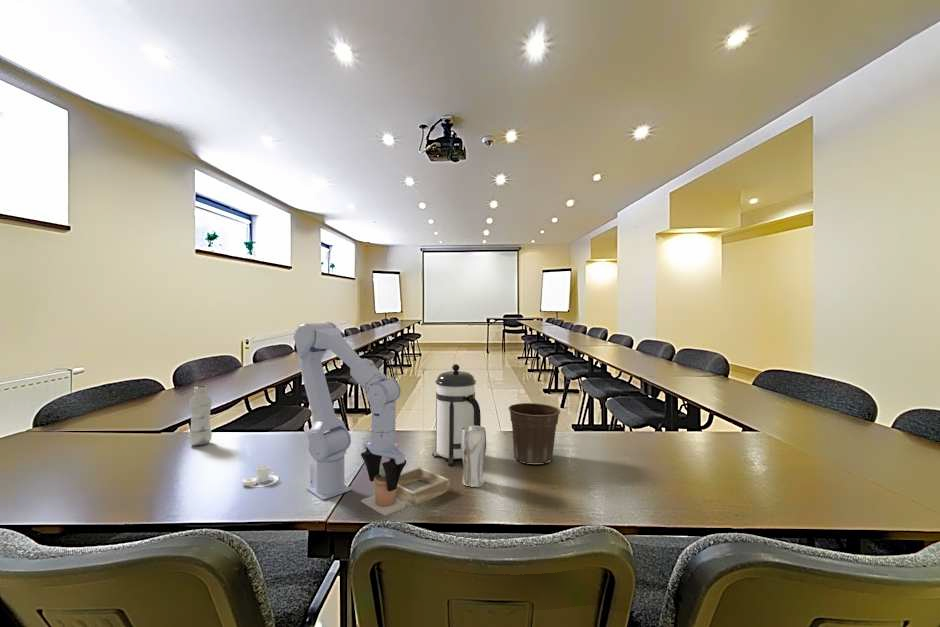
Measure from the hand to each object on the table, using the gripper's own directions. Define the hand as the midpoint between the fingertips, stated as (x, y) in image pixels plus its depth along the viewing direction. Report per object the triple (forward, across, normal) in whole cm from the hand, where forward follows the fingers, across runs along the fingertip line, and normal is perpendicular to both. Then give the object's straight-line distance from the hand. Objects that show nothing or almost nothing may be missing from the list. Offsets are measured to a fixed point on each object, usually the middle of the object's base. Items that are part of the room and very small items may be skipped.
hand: (382, 485), depth 102 cm
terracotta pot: (+4, 0, -1) cm, 4 cm away
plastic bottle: (+6, +81, +20) cm, 83 cm away
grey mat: (+5, 0, 0) cm, 5 cm away
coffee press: (+5, +9, -34) cm, 36 cm away
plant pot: (+5, -8, -52) cm, 52 cm away
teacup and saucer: (+6, +37, +17) cm, 41 cm away
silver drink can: (+5, -7, -24) cm, 26 cm away
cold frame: (+5, 0, -10) cm, 12 cm away
